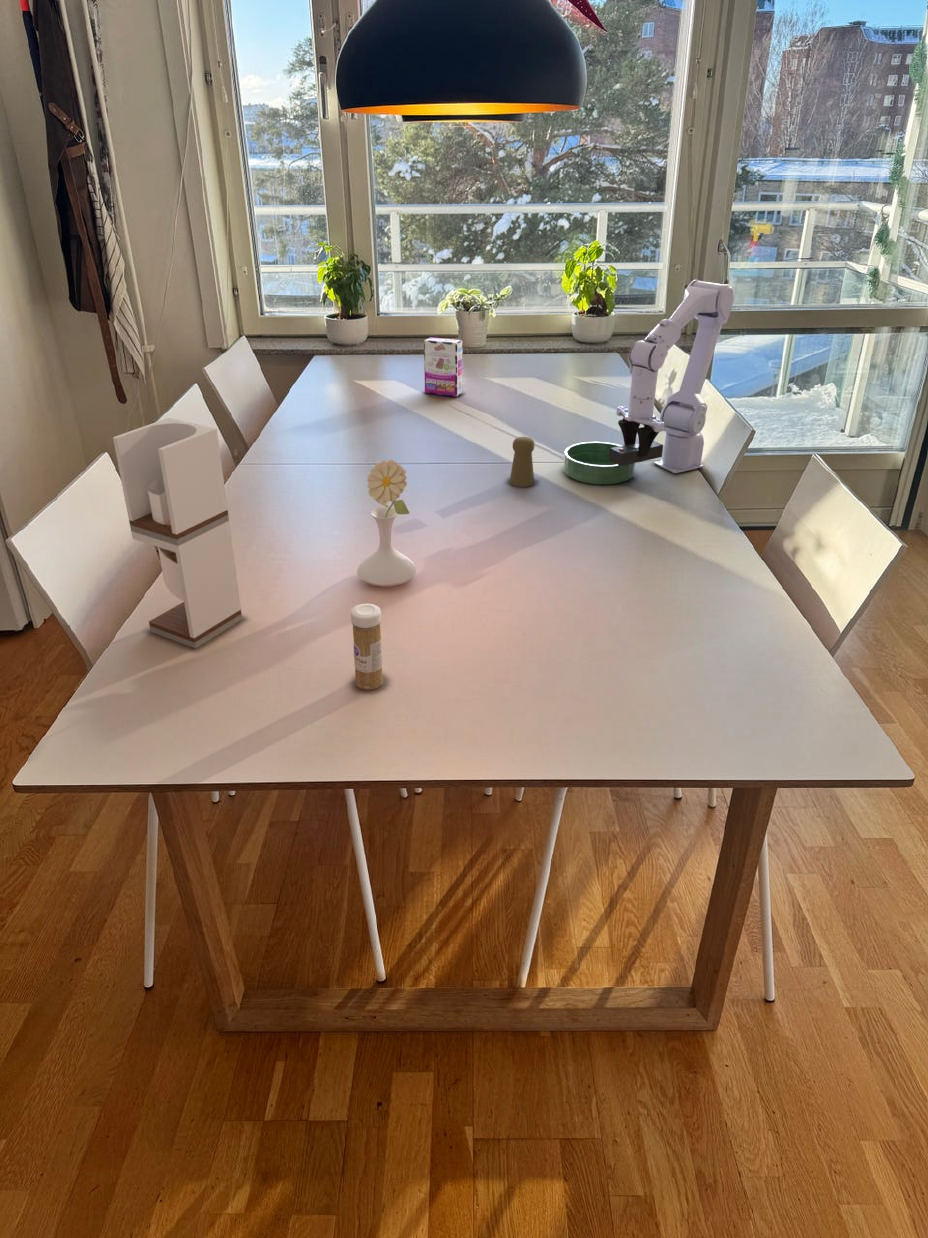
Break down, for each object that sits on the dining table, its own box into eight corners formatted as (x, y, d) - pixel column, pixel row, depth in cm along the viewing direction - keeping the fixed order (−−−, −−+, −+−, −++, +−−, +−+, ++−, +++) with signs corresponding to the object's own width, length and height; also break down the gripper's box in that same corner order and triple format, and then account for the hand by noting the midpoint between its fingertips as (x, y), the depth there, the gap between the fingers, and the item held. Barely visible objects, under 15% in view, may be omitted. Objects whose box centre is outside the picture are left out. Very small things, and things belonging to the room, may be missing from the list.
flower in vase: (346, 575, 175) (338, 452, 162) (395, 559, 181) (391, 440, 168) (383, 601, 166) (377, 474, 153) (433, 584, 172) (431, 460, 159)
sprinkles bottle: (349, 683, 143) (344, 610, 136) (369, 671, 146) (365, 599, 139) (369, 694, 140) (365, 620, 134) (389, 682, 143) (386, 608, 137)
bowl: (604, 456, 233) (606, 437, 231) (648, 478, 220) (650, 458, 218) (549, 467, 226) (550, 448, 223) (591, 490, 213) (593, 471, 210)
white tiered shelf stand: (198, 604, 165) (168, 417, 147) (242, 619, 160) (216, 428, 142) (150, 631, 156) (112, 437, 138) (195, 648, 151) (162, 449, 134)
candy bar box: (463, 393, 281) (463, 339, 273) (456, 397, 277) (457, 343, 269) (430, 389, 285) (430, 336, 276) (423, 393, 281) (423, 339, 272)
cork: (532, 487, 214) (534, 443, 209) (507, 485, 215) (509, 441, 210) (536, 478, 219) (538, 435, 214) (511, 476, 220) (513, 433, 215)
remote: (649, 451, 216) (651, 438, 215) (662, 456, 213) (663, 443, 211) (608, 460, 211) (610, 446, 209) (620, 466, 208) (622, 452, 206)
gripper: (608, 390, 208) (603, 446, 215) (649, 406, 197) (643, 465, 204) (632, 385, 211) (626, 441, 218) (674, 402, 200) (666, 460, 207)
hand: (636, 452), depth 211 cm, fingers closed on remote, 4 cm apart
